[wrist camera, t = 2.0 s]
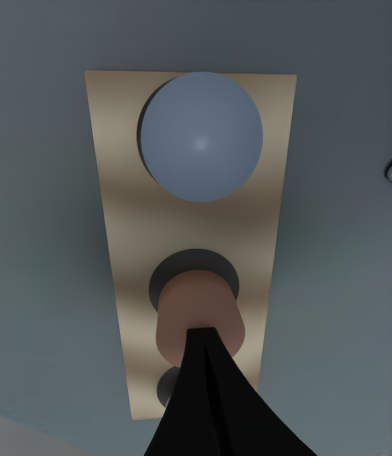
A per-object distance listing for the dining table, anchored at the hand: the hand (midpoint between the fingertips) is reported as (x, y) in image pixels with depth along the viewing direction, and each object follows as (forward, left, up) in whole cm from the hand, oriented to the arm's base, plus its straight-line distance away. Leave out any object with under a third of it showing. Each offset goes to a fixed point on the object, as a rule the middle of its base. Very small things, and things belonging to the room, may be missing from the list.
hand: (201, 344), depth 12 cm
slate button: (-8, -4, -3) cm, 10 cm away
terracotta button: (0, 0, -3) cm, 3 cm away
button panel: (0, 0, -6) cm, 6 cm away
